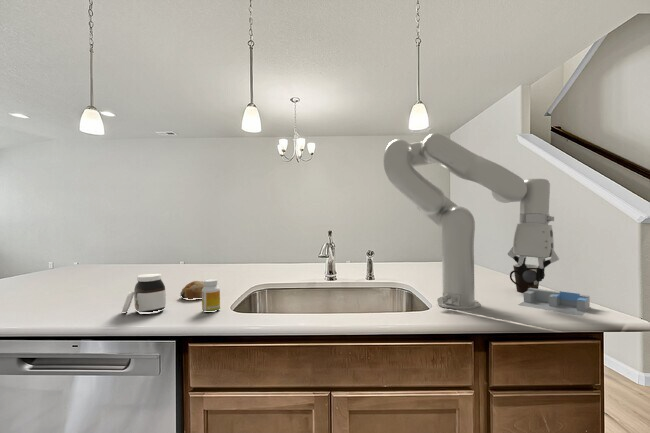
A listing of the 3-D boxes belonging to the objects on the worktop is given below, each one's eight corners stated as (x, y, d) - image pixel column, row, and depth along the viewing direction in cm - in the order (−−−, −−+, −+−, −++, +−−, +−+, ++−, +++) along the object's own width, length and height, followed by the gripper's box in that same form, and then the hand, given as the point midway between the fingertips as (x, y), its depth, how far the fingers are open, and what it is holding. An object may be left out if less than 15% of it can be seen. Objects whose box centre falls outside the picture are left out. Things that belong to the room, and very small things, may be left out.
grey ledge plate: (582, 317, 95) (581, 300, 95) (517, 306, 107) (517, 291, 107) (591, 309, 103) (590, 293, 103) (530, 299, 115) (530, 285, 115)
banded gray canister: (536, 282, 102) (535, 270, 102) (523, 282, 105) (521, 270, 105) (545, 280, 107) (544, 268, 107) (532, 279, 110) (531, 268, 110)
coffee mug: (533, 290, 128) (533, 264, 128) (546, 296, 120) (545, 267, 119) (501, 290, 129) (500, 264, 129) (511, 296, 121) (510, 267, 121)
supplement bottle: (223, 309, 110) (223, 279, 109) (211, 314, 105) (211, 282, 105) (210, 307, 112) (210, 278, 112) (198, 312, 107) (197, 281, 107)
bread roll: (199, 311, 121) (209, 290, 121) (173, 299, 121) (182, 278, 121) (209, 303, 131) (218, 284, 131) (185, 292, 131) (193, 273, 131)
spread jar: (169, 312, 108) (168, 275, 108) (130, 320, 99) (129, 280, 99) (154, 305, 116) (153, 271, 116) (116, 313, 108) (115, 276, 107)
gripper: (569, 221, 101) (566, 283, 101) (509, 218, 113) (506, 274, 113) (562, 221, 96) (560, 286, 96) (500, 218, 108) (497, 276, 108)
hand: (531, 279), depth 105 cm, fingers closed on banded gray canister, 3 cm apart
